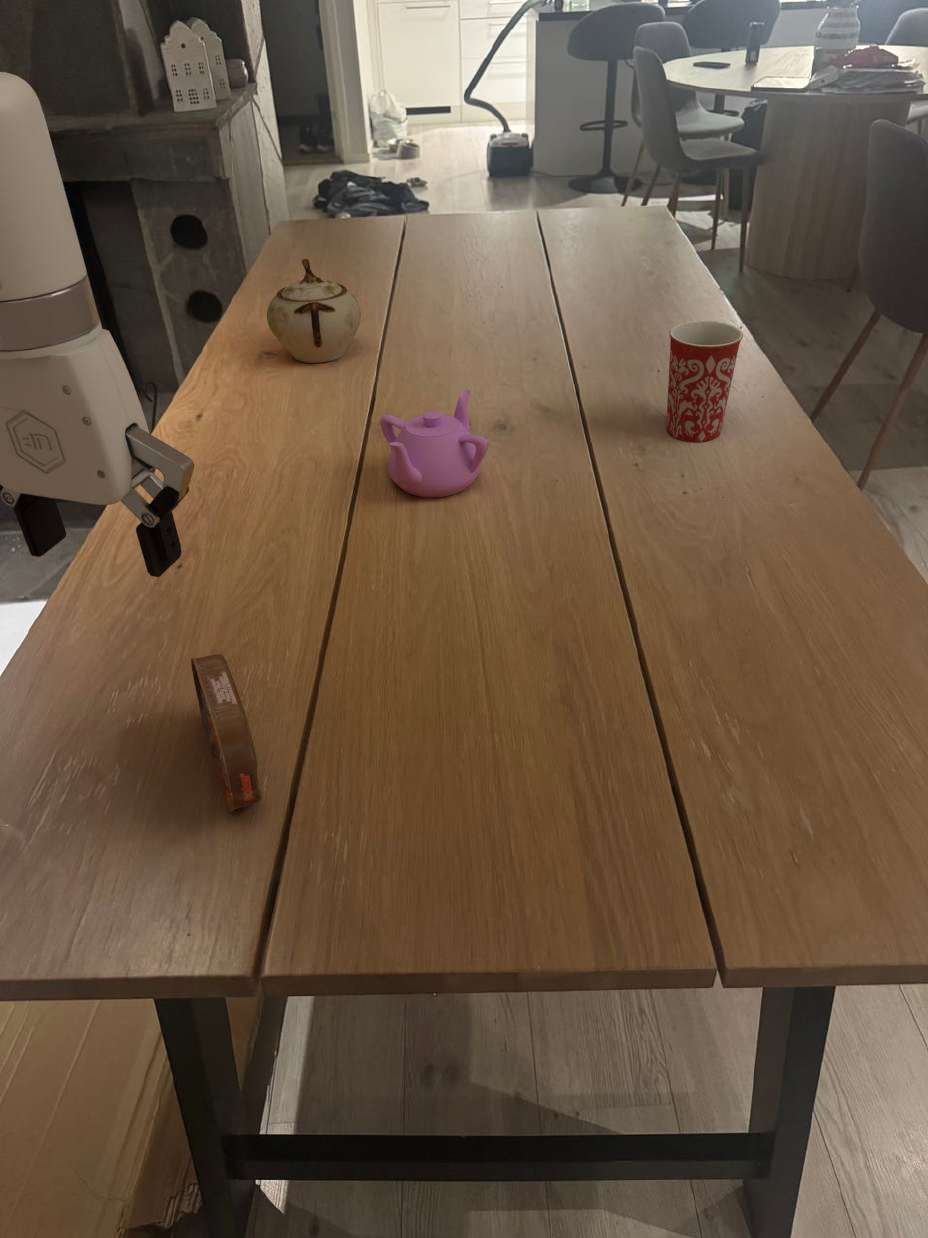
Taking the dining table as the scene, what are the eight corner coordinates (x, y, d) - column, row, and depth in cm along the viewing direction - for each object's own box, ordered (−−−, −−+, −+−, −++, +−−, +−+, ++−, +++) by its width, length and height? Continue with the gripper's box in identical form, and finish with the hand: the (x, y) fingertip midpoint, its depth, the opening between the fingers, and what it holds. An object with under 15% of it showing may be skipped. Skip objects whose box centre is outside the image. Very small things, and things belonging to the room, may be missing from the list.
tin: (199, 714, 82) (179, 640, 77) (234, 704, 83) (216, 630, 78) (234, 834, 71) (213, 756, 66) (274, 821, 72) (256, 743, 67)
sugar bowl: (273, 338, 160) (258, 247, 151) (359, 329, 161) (350, 239, 152) (274, 381, 144) (258, 282, 135) (370, 371, 146) (360, 273, 137)
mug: (737, 443, 121) (752, 342, 113) (668, 447, 121) (679, 346, 113) (711, 404, 131) (723, 309, 123) (647, 408, 131) (655, 312, 123)
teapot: (394, 511, 110) (388, 442, 105) (382, 459, 121) (375, 395, 116) (492, 498, 112) (491, 431, 106) (471, 448, 123) (469, 385, 117)
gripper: (-133, 324, 55) (-30, 567, 65) (115, 347, 50) (184, 605, 60) (-41, 285, 60) (40, 514, 70) (190, 303, 56) (241, 545, 66)
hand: (106, 556), depth 65 cm, fingers open, 9 cm apart
